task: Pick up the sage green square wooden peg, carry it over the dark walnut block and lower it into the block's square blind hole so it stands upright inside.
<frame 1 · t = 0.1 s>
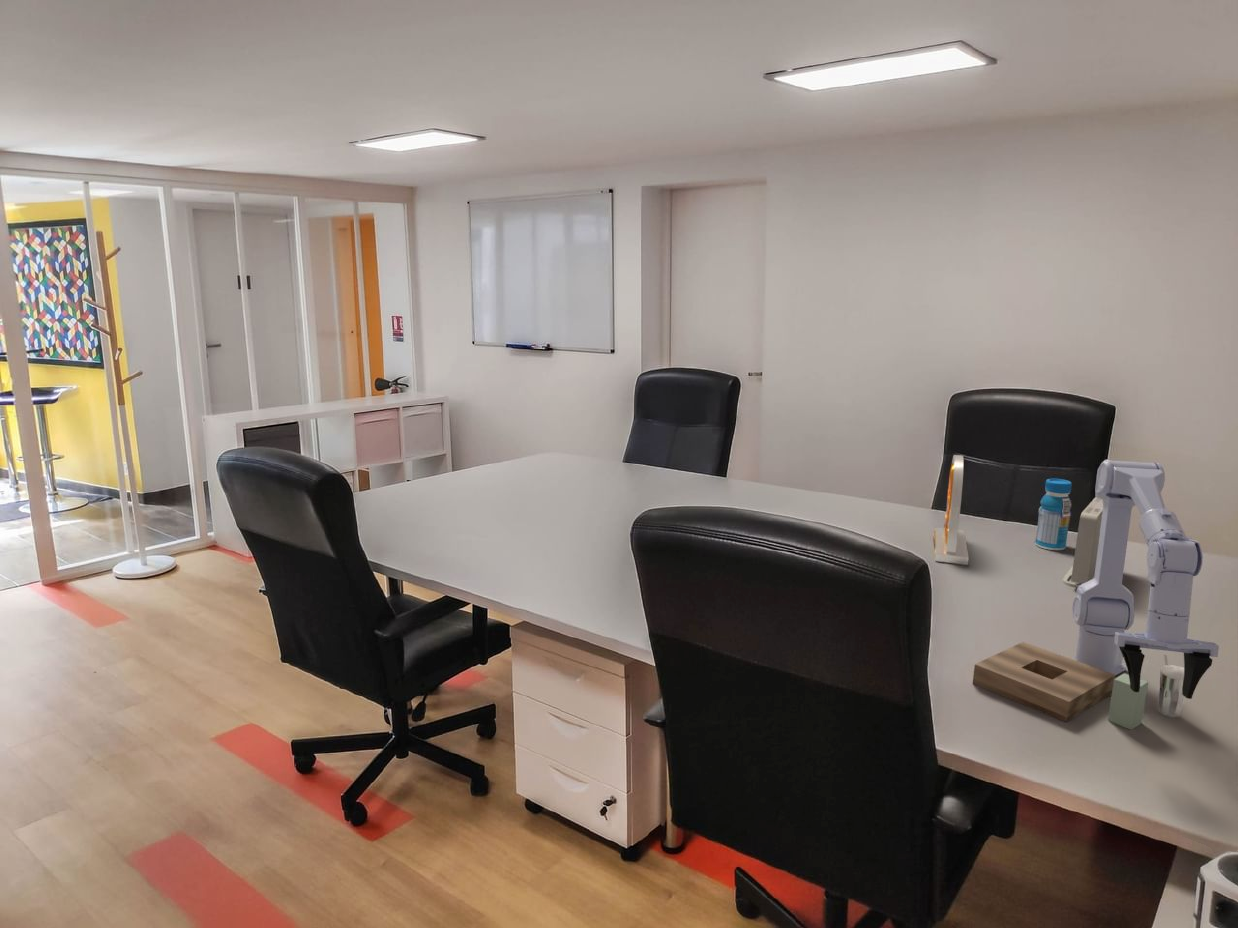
hand: (1160, 693, 140), 10 cm above the table, tool pointing down, fingers open, 7 cm apart
award: (949, 549, 248), on the table
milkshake: (1166, 713, 156), on the table
network device: (1085, 578, 226), on the table
beverage bottle: (1050, 547, 252), on the table
peg: (1124, 721, 152), on the table
socket block: (1041, 688, 164), on the table
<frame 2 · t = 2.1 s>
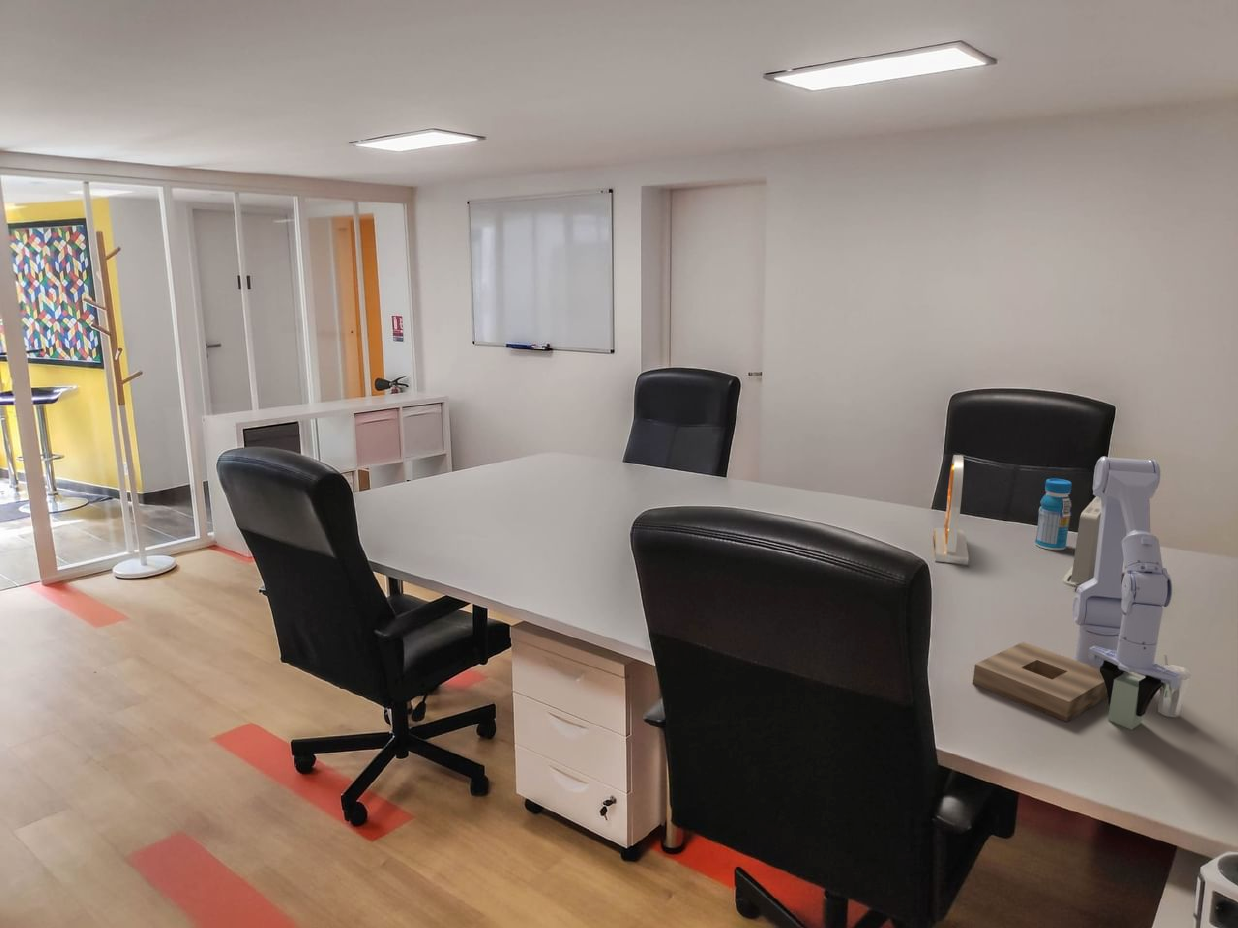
hand: (1126, 709, 152), 2 cm above the table, tool pointing down, fingers closed on peg, 4 cm apart
peg: (1124, 721, 152), on the table, touching gripper
everything else where it was.
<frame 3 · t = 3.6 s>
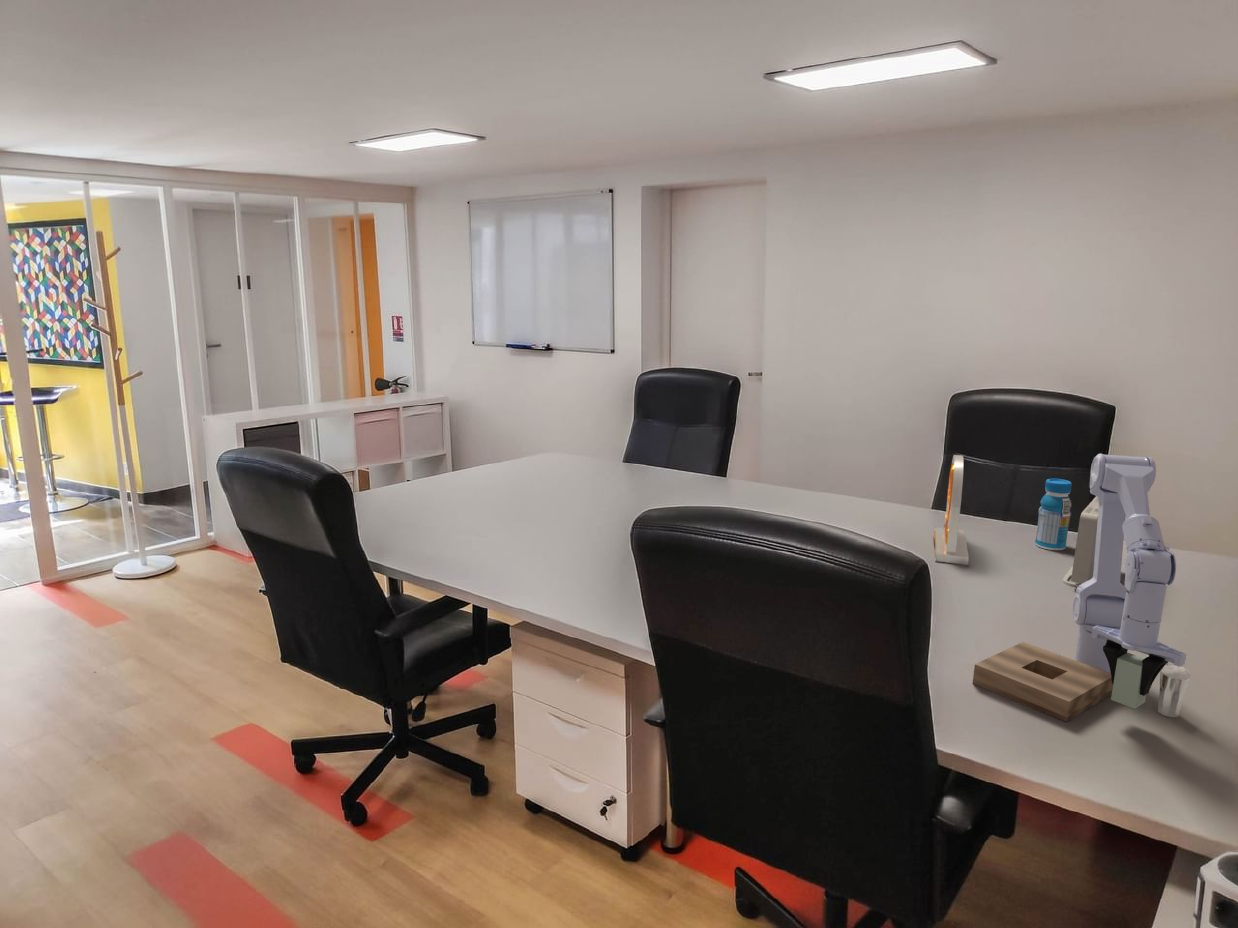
hand: (1129, 688, 151), 6 cm above the table, tool pointing down, fingers closed on peg, 4 cm apart
peg: (1127, 700, 151), point 4 cm above the table, touching gripper
everything else where it was.
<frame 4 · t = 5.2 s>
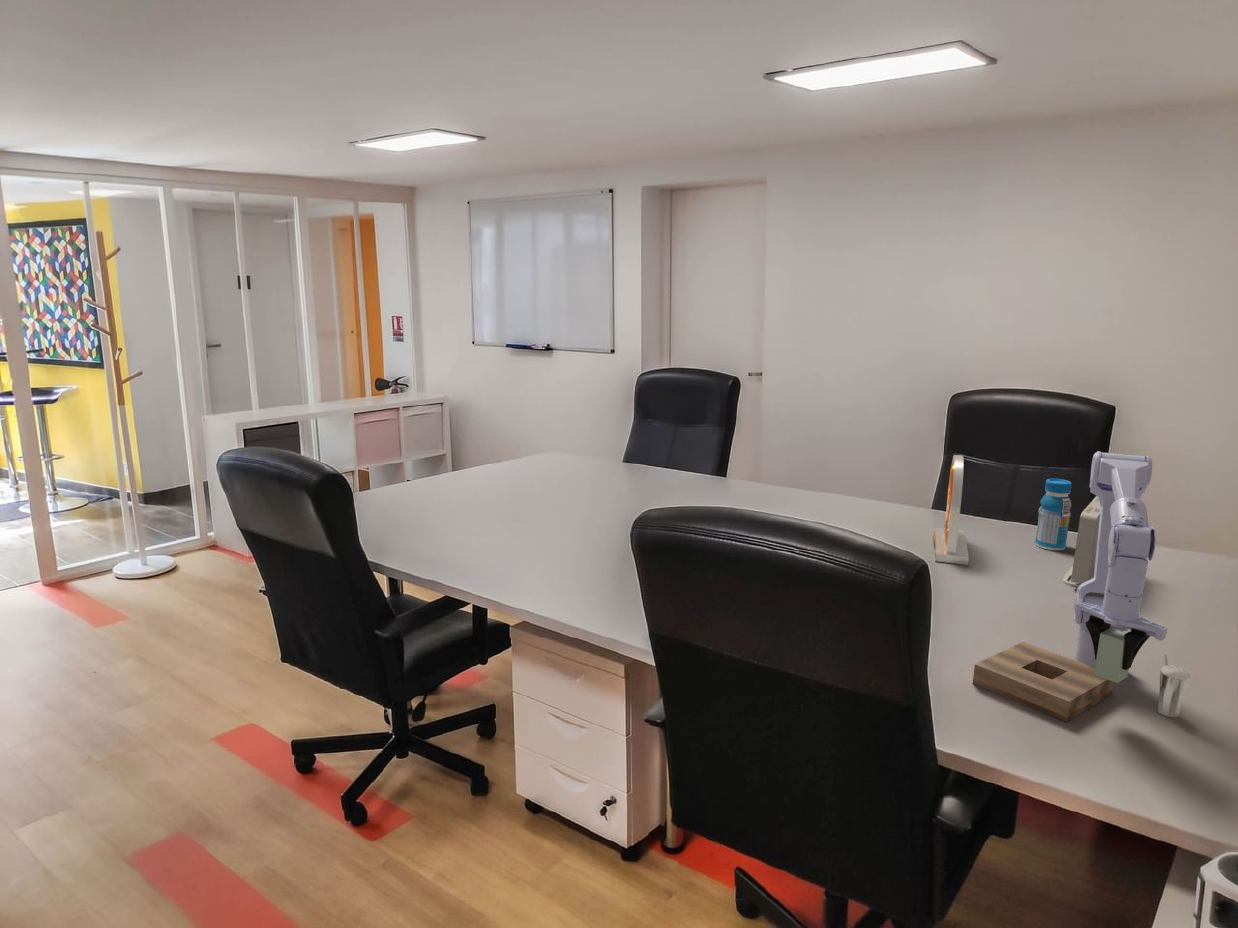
hand: (1112, 663, 153), 10 cm above the table, tool pointing down, fingers closed on peg, 4 cm apart
peg: (1110, 675, 153), point 7 cm above the table, touching gripper
everything else where it was.
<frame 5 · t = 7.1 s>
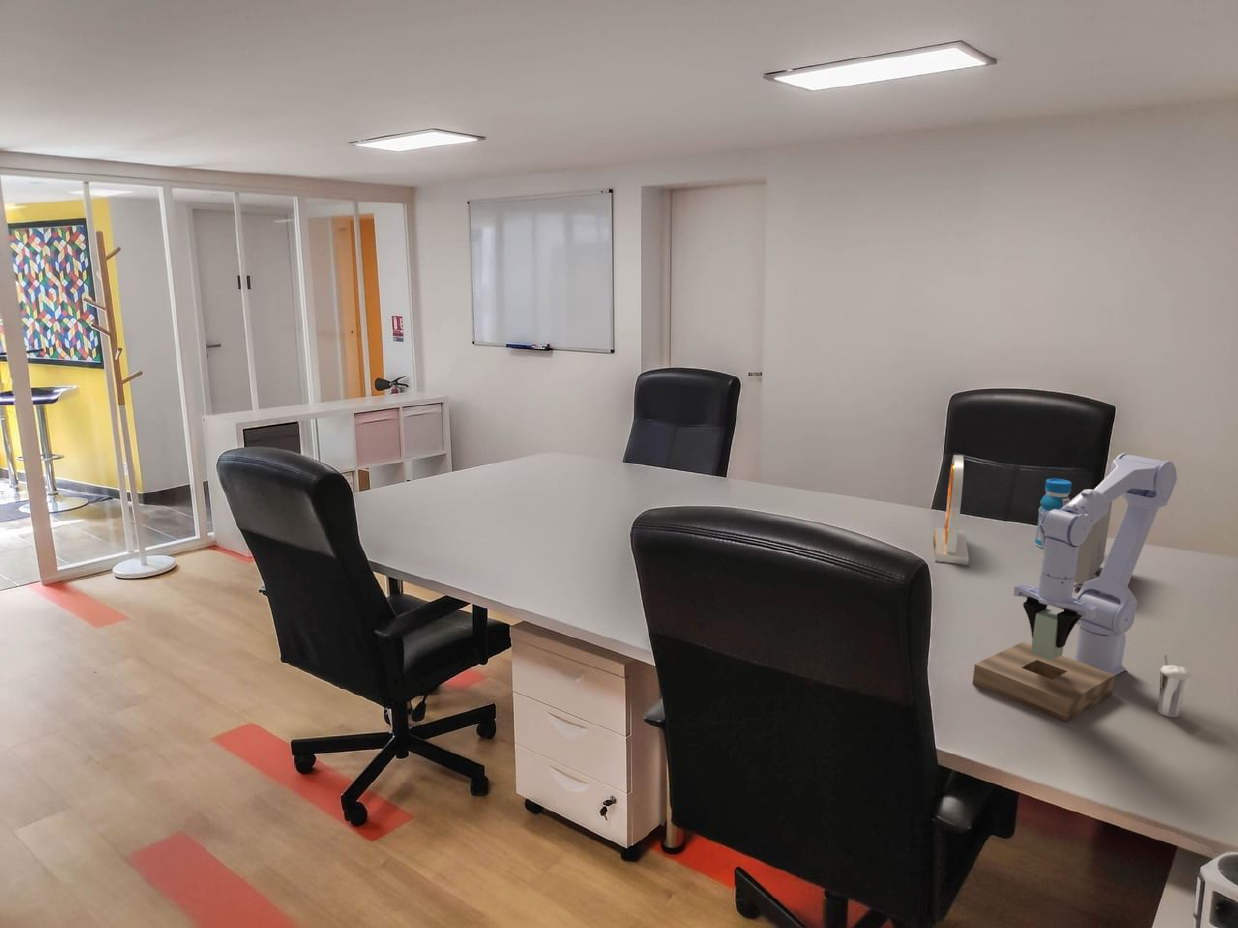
hand: (1048, 641, 162), 10 cm above the table, tool pointing down, fingers closed on peg, 4 cm apart
peg: (1046, 653, 162), point 7 cm above the table, touching gripper
everything else where it was.
when the fingers open (5 cm above the table, at t = 8.9 s): peg drops 1 cm, resting on socket block.
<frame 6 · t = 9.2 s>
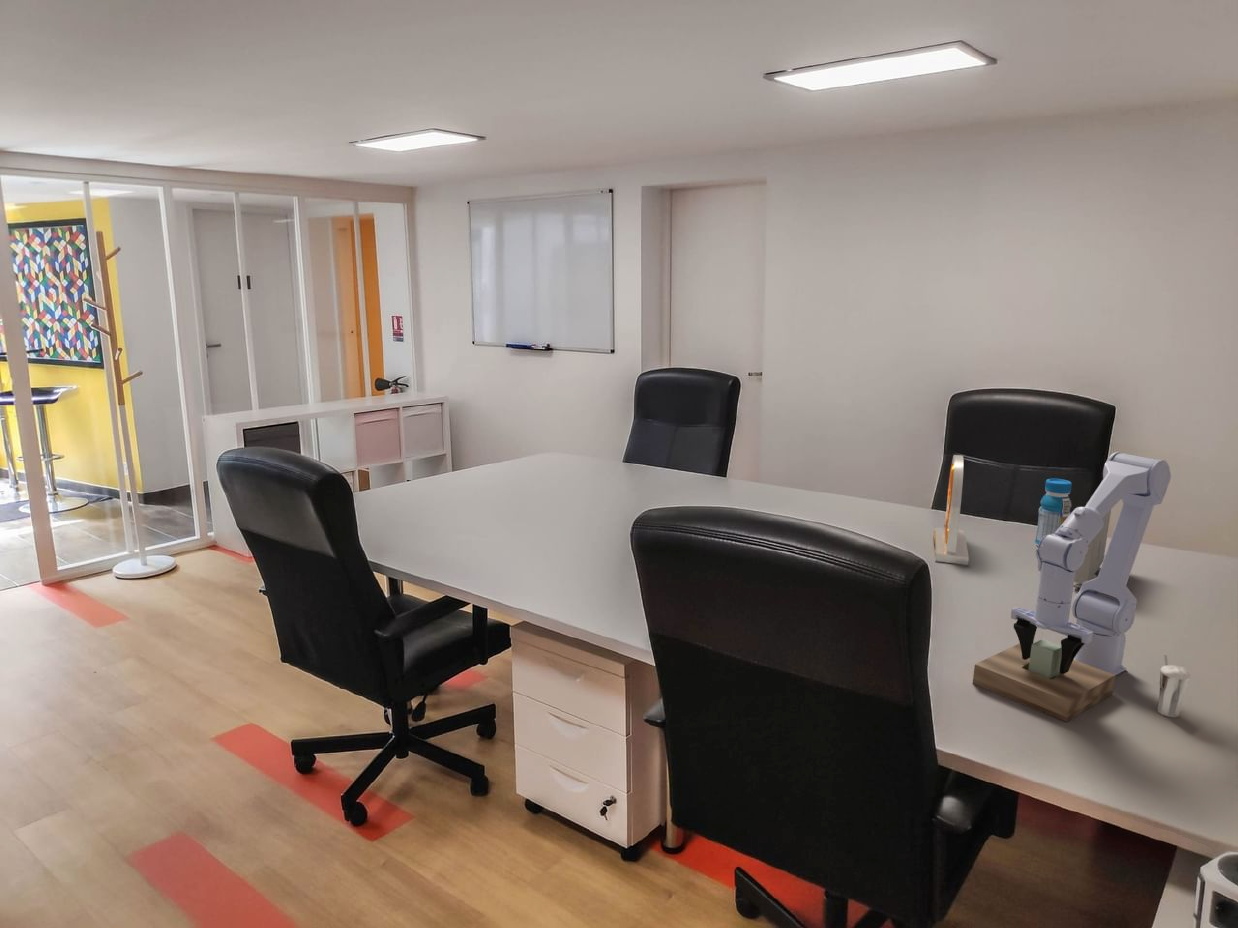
hand: (1044, 664, 163), 5 cm above the table, tool pointing down, fingers open, 7 cm apart
peg: (1042, 683, 163), point 1 cm above the table, touching socket block
everything else where it was.
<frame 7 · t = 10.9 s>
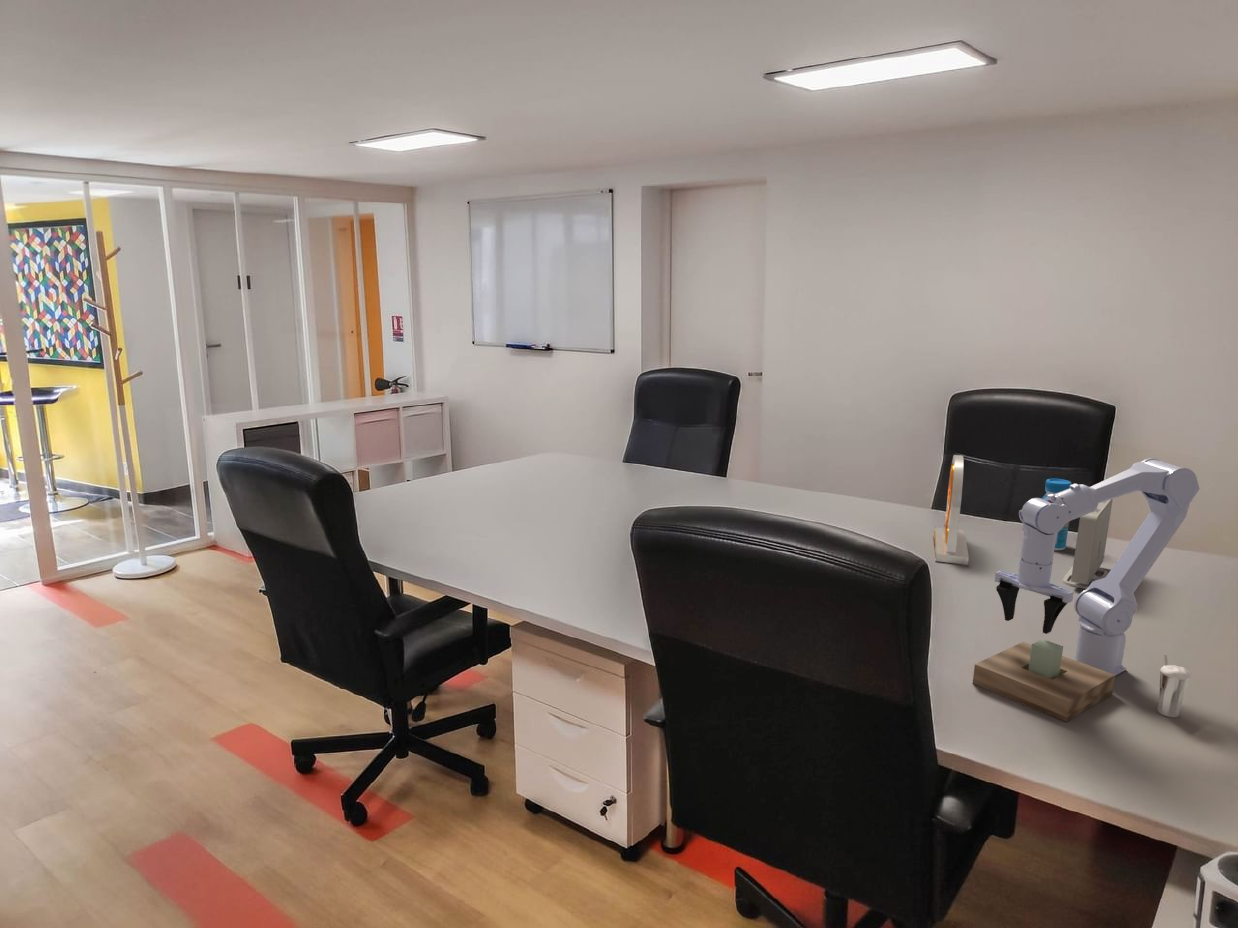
hand: (1027, 625, 168), 10 cm above the table, tool pointing down, fingers open, 7 cm apart
nothing on the table moved.
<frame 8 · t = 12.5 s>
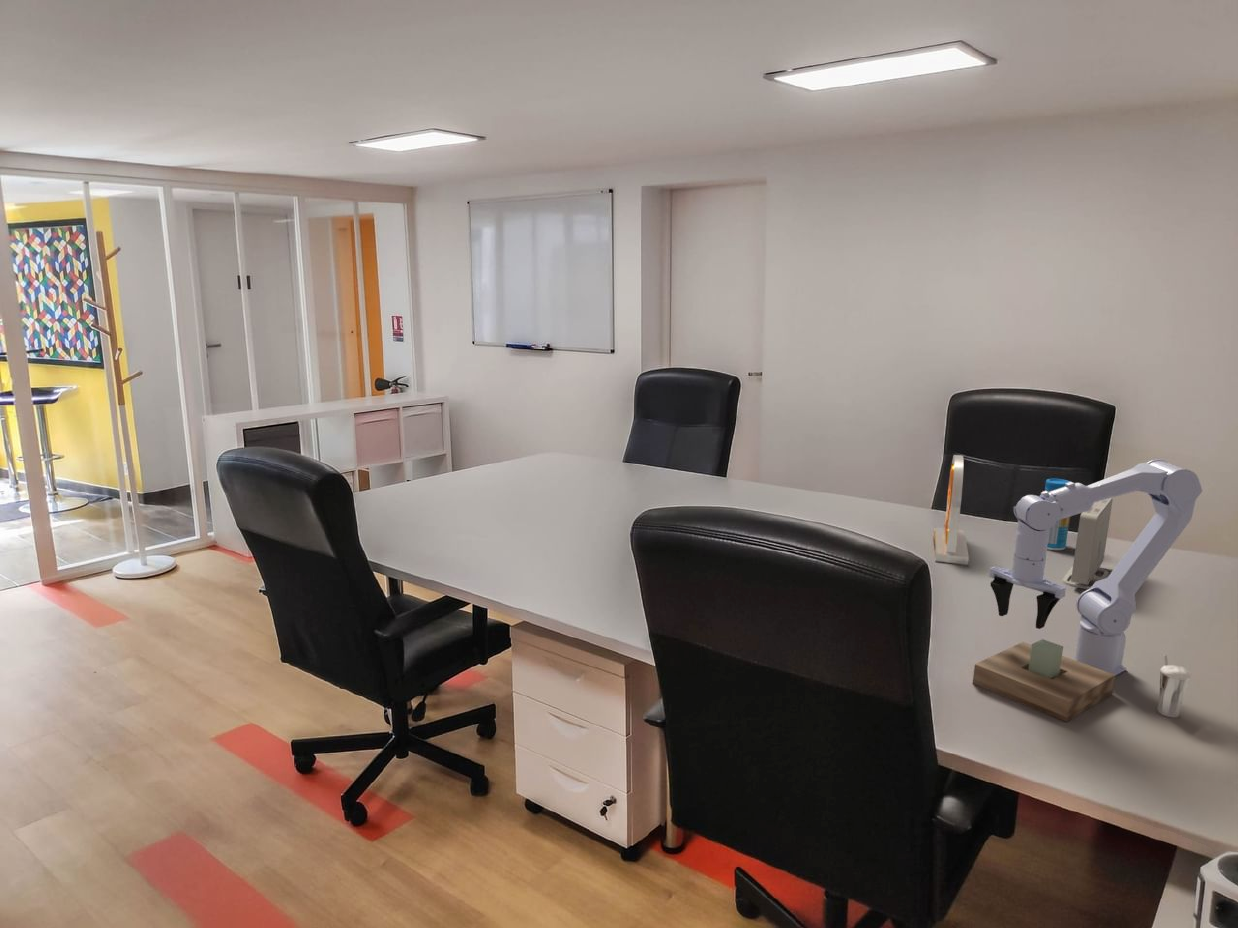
hand: (1021, 620, 171), 10 cm above the table, tool pointing down, fingers open, 7 cm apart
nothing on the table moved.
at the end: peg 0.1 cm off-centre on the socket block, point 1.0 cm above the socket block's base; peg tilted 0°; the gripper is holding nothing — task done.
